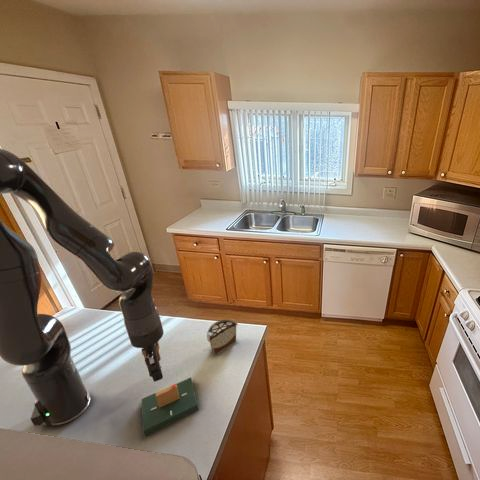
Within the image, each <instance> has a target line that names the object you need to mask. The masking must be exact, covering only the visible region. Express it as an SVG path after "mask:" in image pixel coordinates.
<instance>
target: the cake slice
mask: <svg viewBox="0 0 480 480" xmlns="http://www.w3.org/2000/svg"><path fill="white" fill-rule="evenodd" d="M237 326H238V323H237V321H236V320H234V319H229V318H227V319H225V318H224V319H221V320H218V321H216V322H214V323H213V324H211V325H210V326H209V328H208V330H207V332H206V340H207V342H208V343H209V344H210V348H211V351H212V353H213V356H215V357H216V356H218V354H220V353H222V352H223V351H225V350H227V349H228V348H230V347H231V346H233V345H235V344H236V343H237Z"/></svg>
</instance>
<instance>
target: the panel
mask: <svg viewBox="0 0 480 480" xmlns="http://www.w3.org/2000/svg"><path fill="white" fill-rule="evenodd" d="M175 384H176V385H177V389H178V393H179V398H180V399H178V400H176V401H173V402H171V403H169V404H167V405H165V406H163V407H160V408H159V406H158V402H157V399H156V394H155V393H156V392H154V393H152V394H149V395H147V396H145V397H143V398H141V415H142V416H141V417H142V418H141V419H142V433H143V435H144V437H147V436H149V435H151V434H153V433H155V432H156V431H158V430H161V429H162V428H164V427H167V426H169V425H171V424H172V423H175V422H177V421H179V420H180V419H182V418H185V417H186V416H188V415H190V414H192V413H194V412H196V411H198V410H199V404H198V400H197V397H196V393H195V389H194V384H193V380H192V377H188V378H186V379H183V380H182V381H180V382H178V383H175Z"/></svg>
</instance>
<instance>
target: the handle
mask: <svg viewBox="0 0 480 480" xmlns="http://www.w3.org/2000/svg"><path fill="white" fill-rule="evenodd" d="M176 384H177V383H174V384H172V385H169V386H168V387H165V388H163V389H161V390H159V391H156V392H154V393H155V394H156V399H157V402H158V406H159V408H160V407H163V406H165V405H167V404H169V403H171V402H173V401H176V400H178V399H180V398H179V393H178V389H177V385H176Z"/></svg>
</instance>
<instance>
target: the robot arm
mask: <svg viewBox="0 0 480 480" xmlns="http://www.w3.org/2000/svg"><path fill="white" fill-rule="evenodd" d="M5 194H12V195H14V196H16V197H17V198H20V199H21V200H22V201H24V202H25V203H27V204H29V206H31V207H32V208H33V209H34V210H35V212H36V213H37V214H38V216H39V219H40V221H41V222H42V225H43V227H44V229H45V231H46V233H47V234H48V236H49V237H50V238H51V239H52V240H53V241H54V242H55V243H56V244H57V245H58V246H60V247H62V249H64V250H66V251H67V252H69V253H70V254H72V256H75V257H76V258H78V259H79V260H81V261H82V262H83V264H84V265H85V266H86V267H87V268H88V270H89V271H90V272H91V273H92V274H93V275H94V277H95V278H96V279H97V280H98V282H99V283H100V284H101V285H102V286H104V287H105V288H106V289H108V290H110V291H114V292H117V293H121V294H120V296H119V298H118V304H119V307H120V308H119V309H120V312H121V314H122V317H123V325H124V327H125V330H126V333H127V336H128V339H129V342H130V345H131V346H132V347H134V348H136V349H141V355H142V356H143V358H144V363H145V366H146V368H147V370H148V375H149V377H150V378H152V381H153V382H158V381H160V380H163V378H164V375H163V372H162V366H161V363H160V361H161V359H162V358H161V352H160V344H159V343H160V342H159V341H160V340H161V339H163V336H164V328H163V325H162V324H163V323H162V321H161V317H160V313H159V309H157V305H156V302H155V298H154V296H153V295H154V294H153V287H154V269H153V264H152V262H151V260H150V258H149V257H148V256H147V255H146V254H144V253H143V252H139V251H129V252H127V253H125V254H124V255H121V256H120V257H119V258H117V259H115V258H114V257H113V256H112V255H111V252H112V251H113V249H114V247H115V242H114V240H113V239H112V238H111V237H109V236H108V235H107V234H105V233H104V232H103V231H101V230H100V229H99V228H97V227H96V226H95V225H93V224H92V223H90V222H89V221H88V220H87V219H85V218H84V217H83V216H81V215H80V214H79V213H77V212H76V210H74V208H72V207H71V206H70V205H69V204H68V203H67V202H66V201H65V200H63V199H62V198H61V196H60V195H59V194H58V193H56V191H55V190H54V189H53V188H52V187H51V186H50V185H49V184H48V183H47V182H46V181H44V180H43V179H42V177H40V176H39V174H38V173H36V171H34V170H33V169H32V168H31V167H30V166H29V165H28V164H27V163H26V162H25V161H24V160H22V159H21V158H20V156H19V157H18V156H17V155H16V154H14V153H12V152H11V151H9V150H6V149H3V148H0V195H5ZM41 287H42V270H41V265H40V261H39V258H38V254H37V252H36V249H35V248H34V247H33V245H32V244H31V243H30V242H28V241H27V240H26V239H25V238H24V237H22V236H21V235H19V234H18V233H17V232H15V231H14V230H12V229H11V228H10V227H8V226H7V225H6V224H5V223H4V221H3V220H2V218H1V217H0V358H1V359H2V360H3V361H4V362H6V363H7V364H10V365H13V366H18V367H19V366H20V367H22V369H21V375H22V377H23V379H24V381H25V382H26V384H27V386H28V388H29V389H30V391H31V393H32V395H33V396H34V398H35V401H34V403H33V405H34V408H33V410H32V414H31V415H30V416H31V417H30V421H31V423H32V424H33V426H34V427H37V426H39V427H40V426H42V424H45V426H46V427H47V428H48V427H51V426H57V427H58V426H63V425H66V424H68V423H70V422H73V421H74V420H76V419H77V418H78V417H80V416H81V415H83V413H85V411H87V409H88V408H89V407H90V404H91V401H92V399H91V396H90V390H88V389H87V388H86V386H85V383H84V381H83V379H82V378H81V377H82V376H81V375H80V373H79V370H78V368H77V366H76V364H75V361H74V360H73V357H72V346H71V343H70V340H69V336H68V333H67V331H66V328H65V327H64V325H63V323H62V321H60V320H59V319H58V318H57V317H55V316H53V315H51V314H47V313H38V304H39V300H40V293H41Z"/></svg>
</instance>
